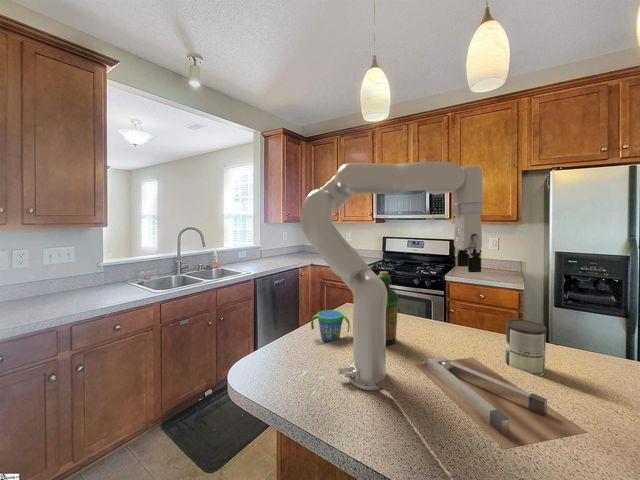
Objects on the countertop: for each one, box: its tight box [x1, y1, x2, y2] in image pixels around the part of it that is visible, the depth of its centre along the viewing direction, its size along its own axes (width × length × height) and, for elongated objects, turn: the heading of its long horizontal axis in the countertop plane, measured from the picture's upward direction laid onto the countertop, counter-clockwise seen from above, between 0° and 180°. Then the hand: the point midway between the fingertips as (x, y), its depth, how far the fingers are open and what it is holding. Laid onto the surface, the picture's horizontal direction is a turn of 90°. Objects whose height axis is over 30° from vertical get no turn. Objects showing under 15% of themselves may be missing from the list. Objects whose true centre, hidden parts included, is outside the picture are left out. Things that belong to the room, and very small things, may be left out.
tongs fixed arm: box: [427, 356, 509, 434], centre depth 74 cm, size 28×6×3 cm, turn 11°
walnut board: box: [415, 357, 588, 450], centre depth 75 cm, size 21×34×2 cm, turn 11°
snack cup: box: [310, 309, 351, 342], centre depth 114 cm, size 16×10×10 cm
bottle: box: [377, 270, 399, 347], centre depth 107 cm, size 11×11×28 cm
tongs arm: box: [441, 361, 548, 416], centre depth 75 cm, size 25×4×3 cm, turn 36°
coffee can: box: [504, 318, 548, 377], centre depth 89 cm, size 10×10×14 cm
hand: (468, 268), depth 82 cm, fingers open, 9 cm apart
